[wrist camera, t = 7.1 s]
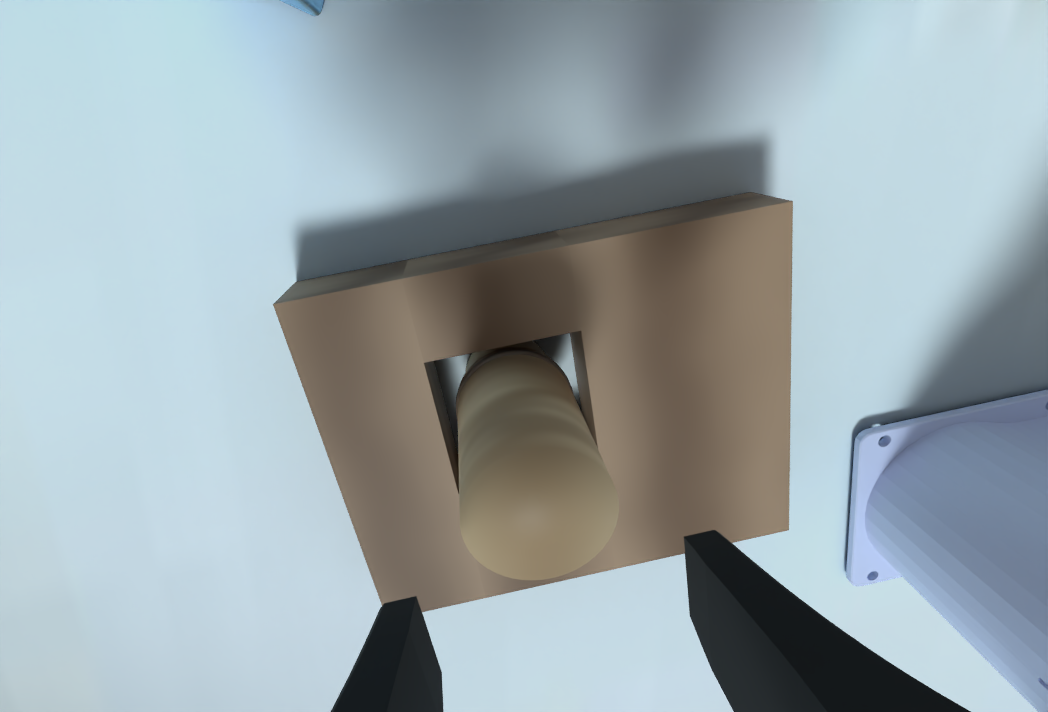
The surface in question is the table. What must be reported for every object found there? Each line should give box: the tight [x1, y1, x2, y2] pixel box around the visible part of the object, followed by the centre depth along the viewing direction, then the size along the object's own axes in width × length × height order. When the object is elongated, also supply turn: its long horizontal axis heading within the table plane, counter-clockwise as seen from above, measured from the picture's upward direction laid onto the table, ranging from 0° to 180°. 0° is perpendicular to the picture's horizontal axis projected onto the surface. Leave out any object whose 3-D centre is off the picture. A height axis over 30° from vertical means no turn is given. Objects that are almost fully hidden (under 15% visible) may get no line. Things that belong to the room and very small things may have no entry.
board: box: [273, 192, 793, 612], centre depth 19 cm, size 15×12×2 cm
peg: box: [456, 341, 619, 580], centre depth 16 cm, size 4×4×8 cm
